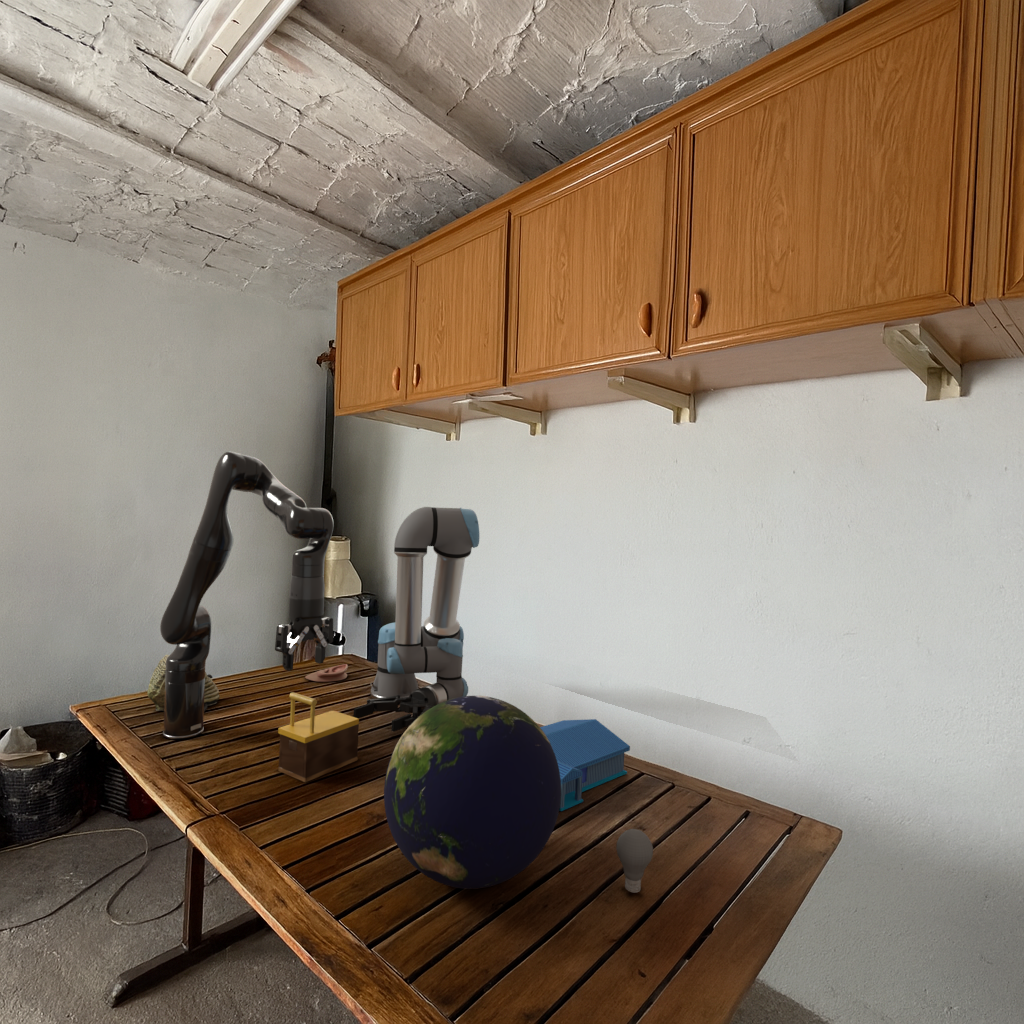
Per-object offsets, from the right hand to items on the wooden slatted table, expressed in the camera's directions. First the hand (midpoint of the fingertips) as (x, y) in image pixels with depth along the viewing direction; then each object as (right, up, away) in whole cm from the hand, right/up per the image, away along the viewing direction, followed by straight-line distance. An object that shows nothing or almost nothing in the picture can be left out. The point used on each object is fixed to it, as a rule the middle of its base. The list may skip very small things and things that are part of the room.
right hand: (373, 720), depth 163 cm
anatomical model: (-29, -4, +57) cm, 64 cm away
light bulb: (+56, -10, -57) cm, 80 cm away
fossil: (-60, -3, +22) cm, 64 cm away
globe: (+28, -9, -54) cm, 62 cm away
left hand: (-12, +18, -18) cm, 28 cm away
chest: (-10, -6, -14) cm, 18 cm away
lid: (-9, +3, -14) cm, 17 cm away
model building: (+43, -9, -17) cm, 47 cm away
